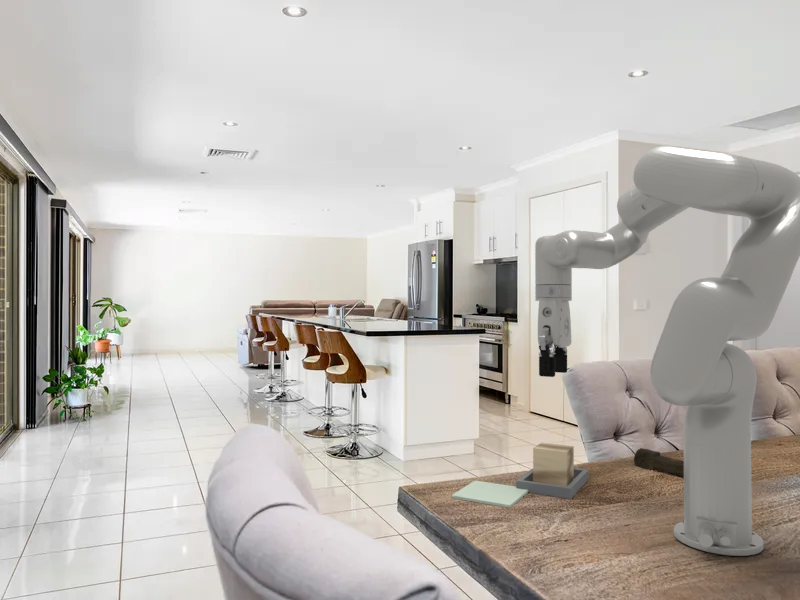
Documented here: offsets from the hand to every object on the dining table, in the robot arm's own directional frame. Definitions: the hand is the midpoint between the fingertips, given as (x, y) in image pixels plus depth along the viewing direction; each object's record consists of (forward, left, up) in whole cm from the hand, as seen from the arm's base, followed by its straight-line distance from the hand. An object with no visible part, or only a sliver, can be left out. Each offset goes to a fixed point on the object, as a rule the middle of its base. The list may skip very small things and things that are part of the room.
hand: (553, 374), depth 126 cm
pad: (-13, +9, -23) cm, 28 cm away
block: (0, 0, -23) cm, 23 cm away
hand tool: (+21, -21, -24) cm, 38 cm away
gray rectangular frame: (0, 0, -23) cm, 23 cm away
